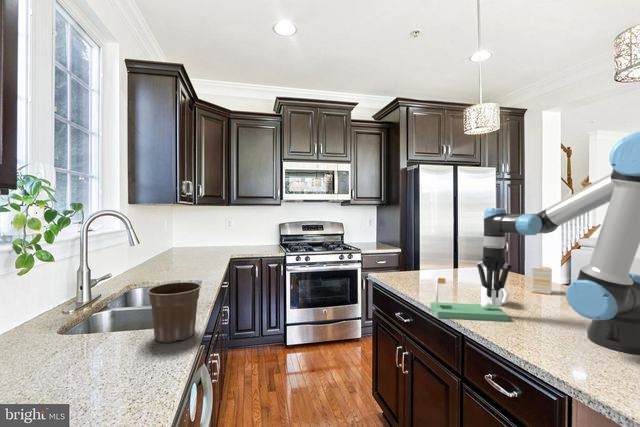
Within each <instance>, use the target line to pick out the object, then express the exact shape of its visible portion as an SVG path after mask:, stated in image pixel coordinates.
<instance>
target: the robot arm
mask: <svg viewBox="0 0 640 427" xmlns="http://www.w3.org/2000/svg"><path fill="white" fill-rule="evenodd" d="M609 163H610V166H611V167H612V172H611V173H609V174H608V175H605V176H603V177H602V178H600V179H598V180H596V181H594V182H593V183H591V184H589V185H587V186H585V187H583V188H581V189H580V190H578V191H576V192H574V193H573V194H570V195H568V196H567V197H566V198H563V199H561V200H560V201H558V202H556V203H554V204H552V205H551V206H549V207H547V208H545V209H543V210H541V211H540V212H538V213H507V209H506V208H494V207H493V208H492V207H490V208H489V207H488V208H485V210H484V211H483V212H484V216H483V240H482V242H483V243H482V244H483V248H482V258H481V261H480V262H476V263H475V266H476V268H477V270H478V274H479V279H480V283H481V284H482V286H483V287H485V288H487V296H488V297H489V302H490V304H491V306H495V307H496V298H498V292H499V290H500V289H501V288H502V289H503V288H504V287H505V285H506V282H507V278H508V275H509V273H510V272H509V271H510V270H512V268H513V267H512V265H511V264H509V263H507V261H506V259H505V255H506V252H505V251H506V248H504V247H505V246H506V234H511V235H513V234H514V235H522V236H537V235H538V234H545V235H546V234H549V233H553V232H554V231H556V230H557V229H558V228H559V227H560V226H562V225H564V224H567V223H569V222H570V221H573V220H574V219H575V220H576V219H577V218H578V217H579V218H580V217H581V216H583V215H586V214H587V213H590V212H591V211H593V210H595V209H598V208H600V207H602V206H604V205H606V204H608V207H607V210H606V212H605V215H604V218H603V221H602V224H601V228H600V230H599V232H598V237H597V239H596V243H595V246H594V248H593V251H592V254H591V258H590V260H589V263H588V264H586V265H584V266H581V268H580V269H579V273H578V276H577V279H576V280H575V281H572V282H571V283H570V284H569V285H568V286H567V288H566V291H565V296H566V297H565V298H566V301H567V303H568V304H569V306H570V307H571V309H572V310H573V311H574V312H575V313H576V314H578V315H579V316H581V317H584V318H586V319H588V320H591V322H590V324H589V327H588V328H587V330H586V331H587V333H586V336H587V339H589V341H590V342H592V343H595V344H597V345H599V346H600V347H601V346H602V347H604V348H606V349H611V350H613V351H618V352H621V353H628V354H635V355H640V274H635V273H630V271H631V268H632V265H633V262H634V259H635V256H636V254H637V252H638V249H639V246H640V131H639V132H635V133H631V134H629V135H627V136H625V137H623V138H620V140H619V141H618V142H616V143H615V145H614V146H613V147H612V148H611V151H610V152H609ZM484 267H485V268H486V273H485V270H484ZM502 267H503V268H502ZM501 269H502V271H501ZM500 273H501V274H500ZM486 279H487V282H486ZM492 280H494V281H493V288H494V289H493V288H492Z"/></svg>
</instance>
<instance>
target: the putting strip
mask: <svg viewBox="0 0 640 427" xmlns="http://www.w3.org/2000/svg"><path fill="white" fill-rule="evenodd" d="M439 284H441V285H442V284H446V278H445V277H435V301H434V302H433V301H431V302H430V309H431V311H432V312H433V313H434V315H435V316H436V317H437V318H438V319H453V320H455V319H456V320H470V321H471V320H472V321H473V320H474V321H492V322H494V321H495V322H510V315H509V314H508V313H507V312H506V311H504V310H503V309H501V308H500V306H496V307H495V306H491V307H490V308H489V309H484V308H482V306H481V303H477V304H476V303H461V302H460V303H459V302H458V303H457V302H440V301H439Z"/></svg>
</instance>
